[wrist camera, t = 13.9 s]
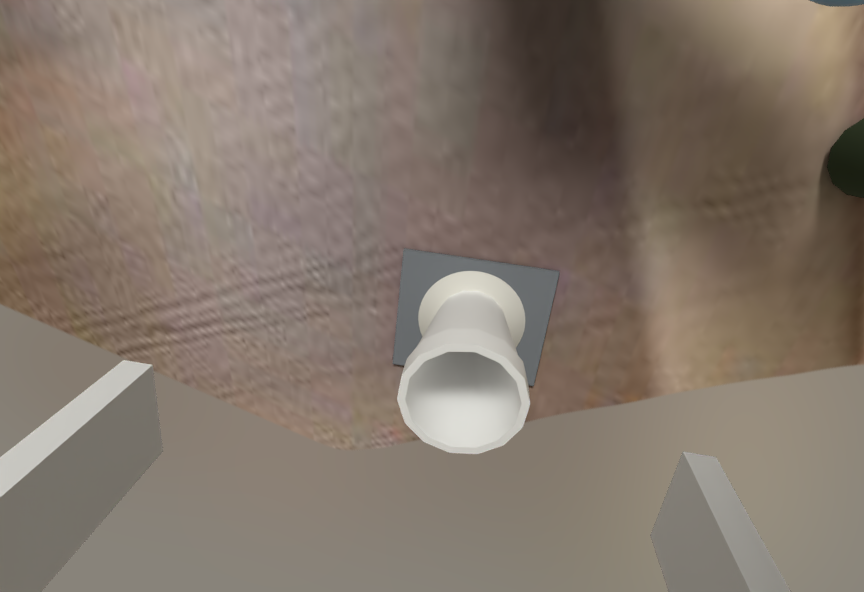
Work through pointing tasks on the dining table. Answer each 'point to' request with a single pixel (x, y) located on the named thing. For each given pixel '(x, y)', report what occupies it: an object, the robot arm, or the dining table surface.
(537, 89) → the dining table surface
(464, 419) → the foam cup
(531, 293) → the mat
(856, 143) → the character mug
